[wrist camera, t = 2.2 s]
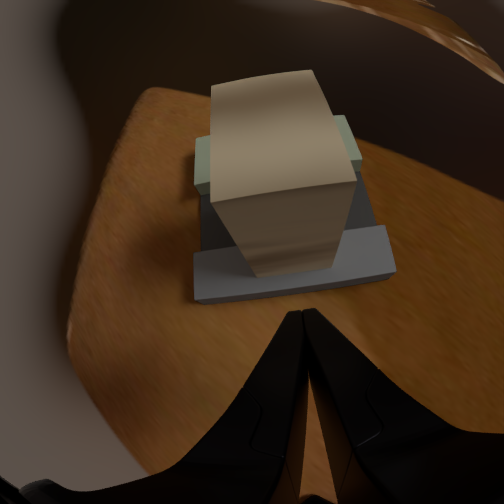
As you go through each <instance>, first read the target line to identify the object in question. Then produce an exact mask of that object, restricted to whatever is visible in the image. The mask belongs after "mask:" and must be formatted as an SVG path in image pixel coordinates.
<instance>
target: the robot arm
mask: <svg viewBox="0 0 504 504" xmlns="http://www.w3.org/2000/svg"><path fill="white" fill-rule="evenodd" d="M308 372H309V375H308ZM309 379H310V384H311V388H312V392H313V396H314V400H315V404H316V408H317V413H318V417H319V421H320V425H321V429H322V434H323V438H324V442H325V447H326V451H327V455H328V460H329V464H330V469H331V473H332V478H333V483H334V487H335V492H336V497H337V502H338V504H504V434H500V433H481V432H470V431H465V430H462V429H459V428H456V427H454V426H452V425H450V424H449V423H447V422H446V421H444V420H443V419H441V418H440V417H439V416H437V415H436V414H434V413H433V412H432V411H430V410H429V409H427V408H426V407H425V406H423V405H422V404H420V403H419V402H418V401H416V400H415V399H413V398H412V397H411V396H410V395H408V394H407V393H406V392H404V391H403V390H402V389H401V388H399V387H398V386H397V385H396V384H395V383H394V382H392V381H391V380H390V379H389V378H388V377H387V376H386V375H385V374H384V373H383V372H382V371H381V370H380V369H378V368H377V367H376V366H375V365H374V364H373V363H372V362H371V361H370V360H369V359H368V358H367V357H366V356H365V355H364V354H363V353H362V352H361V351H360V350H359V349H358V348H357V347H356V346H355V345H353V344H352V343H351V342H350V341H349V340H348V339H347V338H346V337H345V336H344V335H343V334H342V333H341V332H340V331H339V330H338V329H337V328H336V327H335V326H334V325H333V324H332V323H331V322H329V321H328V320H327V319H326V318H325V317H324V316H323V315H322V314H321V313H320V312H319V311H318V310H317V309H316V308H310V309H304V310H302V311H301V310H296V311H289V312H288V313H287V314H286V316H285V318H284V319H283V321H282V323H281V324H280V326H279V328H278V330H277V331H276V333H275V335H274V336H273V338H272V340H271V341H270V343H269V345H268V346H267V348H266V350H265V351H264V353H263V355H262V356H261V358H260V360H259V361H258V363H257V365H256V366H255V368H254V369H253V371H252V373H251V374H250V376H249V377H248V379H247V380H246V382H245V384H244V385H243V388H241V390H240V391H239V393H238V394H237V396H236V397H235V399H234V400H233V402H232V403H231V404H230V406H229V407H228V409H227V410H226V411H225V412H224V414H223V415H222V416H221V417H220V418H219V420H218V421H217V422H216V423H215V424H214V425H213V427H212V428H211V429H210V430H209V431H208V432H207V433H206V434H205V435H204V436H203V437H202V438H201V439H200V440H199V442H198V443H197V444H196V445H195V446H194V447H193V448H192V449H191V450H190V451H189V452H188V453H187V454H186V455H185V456H184V457H183V458H182V459H181V460H180V461H178V462H177V463H176V464H175V465H173V466H171V467H170V468H168V469H166V470H164V471H162V472H160V473H157V474H154V475H151V476H148V477H145V478H142V479H139V480H135V481H132V482H128V483H125V484H121V485H117V486H113V487H110V488H105V489H101V490H95V491H87V492H85V491H82V492H81V491H72V490H69V489H66V488H64V487H62V486H60V485H59V484H57V483H55V482H53V481H51V480H49V479H43V480H39V481H35V482H32V483H29V484H27V485H25V486H24V487H22V488H21V489H18V488H17V487H15V486H14V485H12V484H11V483H9V482H8V481H7V480H5V479H4V478H2V477H1V476H0V504H298V502H299V494H300V486H301V478H302V468H303V458H304V448H305V436H306V422H307V407H308V388H309ZM312 500H317V501H316V502H312ZM301 504H333V503H331V502H329V501H327V500H326V499H324V498H322V497H320V496H318V495H313V496H311V497H309V498H308V499H307V500H305V501H304V502H303V503H301Z"/></svg>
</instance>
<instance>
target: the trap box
mask: <svg viewBox="0 0 504 504" xmlns="http://www.w3.org/2000/svg"><path fill="white" fill-rule="evenodd" d="M333 117H334V120H335V122H336V125H337V127H338V129H339V132H340V134H341V137H342V140H343V142H344V145H345V147H346V150H347V153H348V155H349V158H350V161H351V164H352V167H353V170H354V172H355V175H356V178H357V184H356V187H355V191H354V195H353V199H352V202H351V206H350V210H349V213H348V217H347V220H346V224H345V227H344V230H343V234H342V237H341V240H340V244H339V247H338V250H337V253H336V256H335V259H334V262H333V265H332V268H325V269H319V270H312V271H305V272H298V273H291V274H284V275H277V276H269V277H262V278H257V277H256V275H255V274H254V272H253V270H252V269H251V267H250V265H249V264H248V262H247V261H246V259H245V257H244V256H243V254H242V253H241V251H240V249H239V248H238V246H237V245H236V243H235V241H234V240H233V238H232V237H231V235H230V233H229V232H228V230H227V229H226V227H225V225H224V224H223V222H222V220H221V219H220V217H219V216H218V214H217V212H216V211H215V209H214V207H213V206H212V204H211V202H210V135H209V136H205V137H200V138H196V148H195V171H194V186H195V187H196V189H197V190H198V192H199V193H200V195H201V252H194V253H193V264H194V300H196V301H198V302H200V303H202V304H204V305H206V304H216V303H226V302H235V301H244V300H252V299H261V298H269V297H277V296H284V295H292V294H299V293H306V292H313V291H319V290H326V289H333V288H339V287H345V286H351V285H357V284H363V283H369V282H374V281H380V280H385V279H389V278H390V277H391V276H392V275H393V274H394V273H396V272H397V271H396V267H395V263H394V258H393V254H392V250H391V246H390V243H389V239H388V235H387V231H386V228H385V225H380V226H377V225H376V221H375V218H374V214H373V211H372V207H371V204H370V201H369V198H368V195H367V192H366V189H365V185H364V183H363V180H362V177H361V174H360V168H361V163H362V157H361V154H360V152H359V149H358V147H357V144H356V142H355V139H354V137H353V135H352V132H351V130H350V128H349V125H348V123H347V121H346V119H345V116H344V115H339V116H333Z"/></svg>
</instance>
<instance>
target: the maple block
mask: <svg viewBox="0 0 504 504" xmlns="http://www.w3.org/2000/svg"><path fill="white" fill-rule="evenodd" d="M356 184H357V178H356V175H355V172H354V170H353V167H352V164H351V161H350V158H349V155H348V153H347V150H346V147H345V145H344V142H343V140H342V137H341V134H340V132H339V129H338V127H337V125H336V122H335V120H334V117H333V115H332V113H331V111H330V108H329V106H328V103H327V101H326V99H325V97H324V95H323V92H322V90H321V88H320V86H319V84H318V82H317V80H316V78H315V76H314V74H313V72H312V70H305V71H294V72H286V73H278V74H272V75H264V76H258V77H252V78H247V79H242V80H237V81H232V82H227V83H223V84H218V85H214V86H211V125H210V202H211V204H212V206H213V207H214V209H215V211H216V212H217V214H218V216H219V217H220V219H221V220H222V222H223V224H224V225H225V227H226V229H227V230H228V232H229V233H230V235H231V237H232V238H233V240H234V241H235V243H236V245H237V246H238V248H239V249H240V251H241V253H242V254H243V256H244V257H245V259H246V261H247V262H248V264H249V265H250V267H251V269H252V270H253V272H254V274H255V275H256V277H257V278H262V277H269V276H277V275H284V274H291V273H298V272H305V271H312V270H319V269H325V268H332V265H333V262H334V259H335V256H336V253H337V250H338V247H339V244H340V240H341V237H342V234H343V230H344V227H345V224H346V220H347V217H348V213H349V210H350V206H351V202H352V199H353V195H354V191H355V187H356Z"/></svg>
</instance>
